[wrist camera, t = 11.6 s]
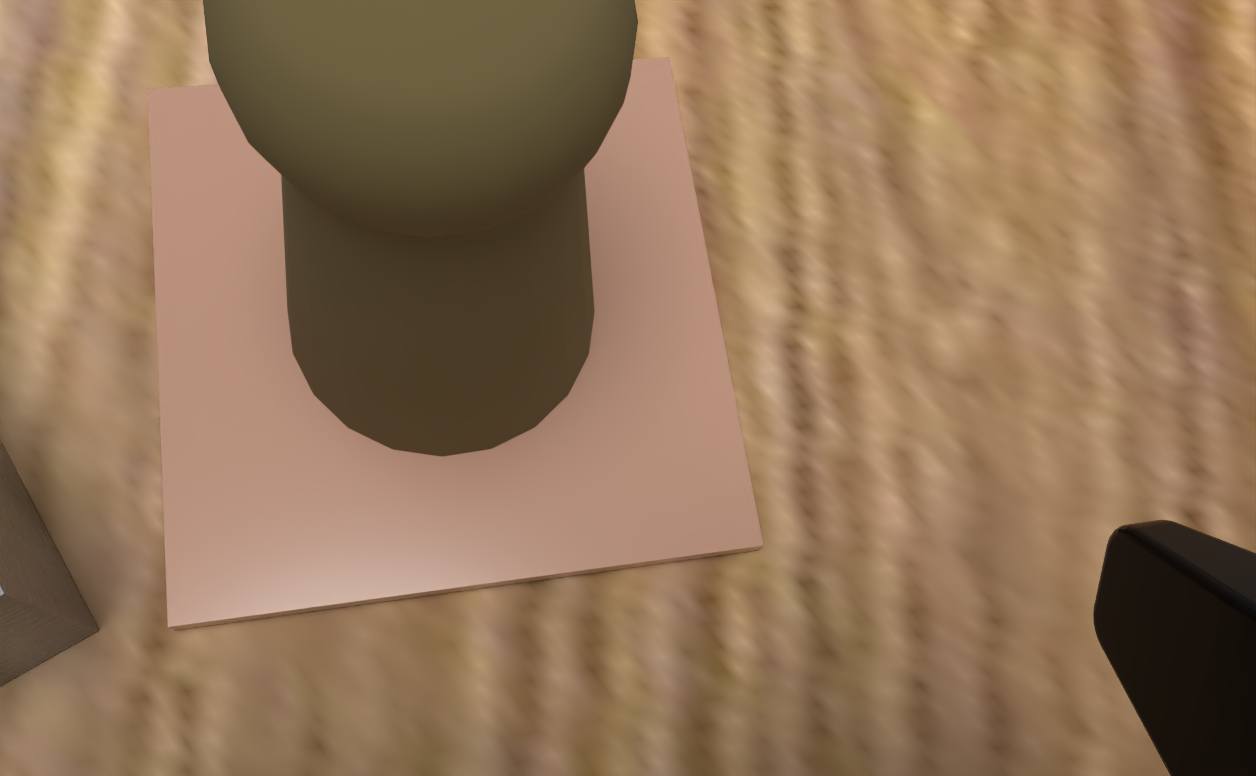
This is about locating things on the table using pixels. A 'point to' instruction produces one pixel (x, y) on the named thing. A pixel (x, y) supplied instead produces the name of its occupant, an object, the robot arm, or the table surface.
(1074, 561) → the table surface
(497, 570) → the terracotta tile
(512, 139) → the cork
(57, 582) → the metal collar
